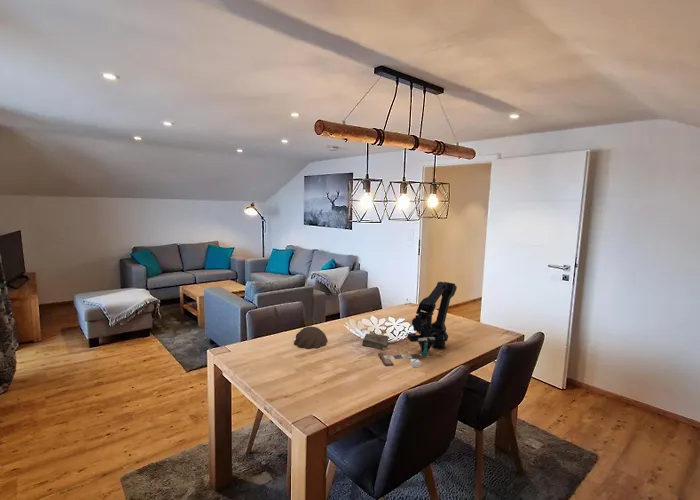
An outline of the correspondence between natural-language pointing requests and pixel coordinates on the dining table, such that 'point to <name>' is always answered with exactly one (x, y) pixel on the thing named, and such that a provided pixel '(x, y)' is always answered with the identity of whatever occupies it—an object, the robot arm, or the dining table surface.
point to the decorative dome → (310, 338)
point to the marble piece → (376, 341)
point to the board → (396, 357)
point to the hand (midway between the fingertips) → (424, 351)
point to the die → (414, 362)
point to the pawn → (425, 349)
